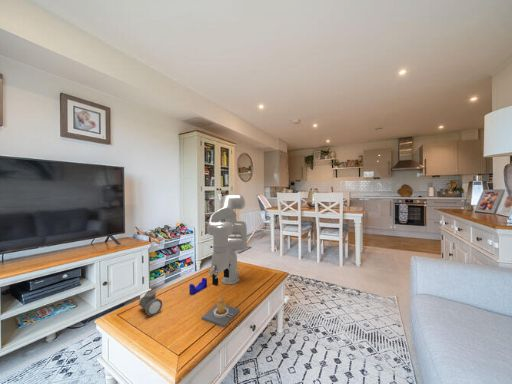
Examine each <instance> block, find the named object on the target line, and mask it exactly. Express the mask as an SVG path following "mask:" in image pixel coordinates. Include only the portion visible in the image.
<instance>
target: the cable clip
mask: <svg viewBox="0 0 512 384" xmlns="http://www.w3.org/2000/svg"><path fill="white" fill-rule="evenodd" d="M188 286H189V290H188V291H189V292H188V293H189V295H191V296H194V295H196V294H197V293H200V292H201V291H203V290H205V289H206V288H208V278H206V277H202V278H201V281H200V282H199V283H198V284H197V285H196V286H195V284H193V283H190V284H189V285H188Z"/></svg>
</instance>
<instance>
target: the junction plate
mask: <svg viewBox="0 0 512 384" xmlns="http://www.w3.org/2000/svg"><path fill="white" fill-rule="evenodd" d="M239 313H240V308H237V307H233V306H230V305H226V304H225V314H221V315H219V314H217V304H216V305H214V306H213V307H212V308H210V309H209V310H208V311H207V312H206V313H205V314H203V315H202V316H201V320H202V321H205V322H207V323H210V324H212V325H213V324H214V325H216V326H219V327H221V326H222V328H224V327H225V326H226V325H227V324H228V323H229V324H230V323H231V321H232V320H233V319H234V318H236V316H237V315H239ZM229 324H228V325H229ZM228 325H227V326H228ZM227 326H226V327H227ZM226 327H225V328H226Z"/></svg>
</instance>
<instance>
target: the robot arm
mask: <svg viewBox="0 0 512 384" xmlns="http://www.w3.org/2000/svg"><path fill="white" fill-rule="evenodd" d="M245 205H246V200H245V198H244V196H243V195H242V194H224V195H223V197H222V198H221V199H220V206H219V209H217V210H216V211H215V212H214V213H212V214H211V215H210V217H209V218H208V222H207V227H206V231H207V234H208V235H209V236H213V237H212V239H213V241H212V243H213V244H212V245H213V251H212V255H211V263H210V264H211V265H210V267H211V268H210V270H209V276H210V278H211V280H212V283H211V285H212V286H215V287H218V286H219V278H218V277H219V274H220V273H222V272H223V277H222V278H221V282H222V284H225V285H235V284H237V283H239V282H240V277H239V276H238V275H239V274H240V272H241V271H239V270H238V254H237V253H236V252H235V251H245V250H246V249H247V246H248V243H247V242H248V240H247V239H248V229H247V223H246V222H245V221H242V220H241V221H240V220H239V221H237V219H238V218H237V213H236V211H235V210H242V209H244V208H245ZM230 235H231V236H230ZM232 235H235V236H232ZM236 235H237V236H236Z"/></svg>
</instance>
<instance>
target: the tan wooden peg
mask: <svg viewBox="0 0 512 384" xmlns="http://www.w3.org/2000/svg"><path fill="white" fill-rule="evenodd" d="M217 299H218V300H217V301H216V305H217V314H219V315H221V314H225V305H226V300H225V297H223V296H220V297H218V298H217Z"/></svg>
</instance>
